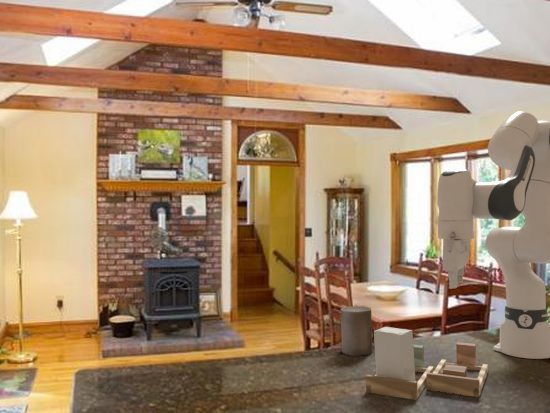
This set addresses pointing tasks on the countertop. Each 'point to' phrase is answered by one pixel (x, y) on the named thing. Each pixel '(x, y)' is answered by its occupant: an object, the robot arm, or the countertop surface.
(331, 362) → the countertop surface
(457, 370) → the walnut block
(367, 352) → the pillar candle
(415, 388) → the frame
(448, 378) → the frame
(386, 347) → the skincare box
